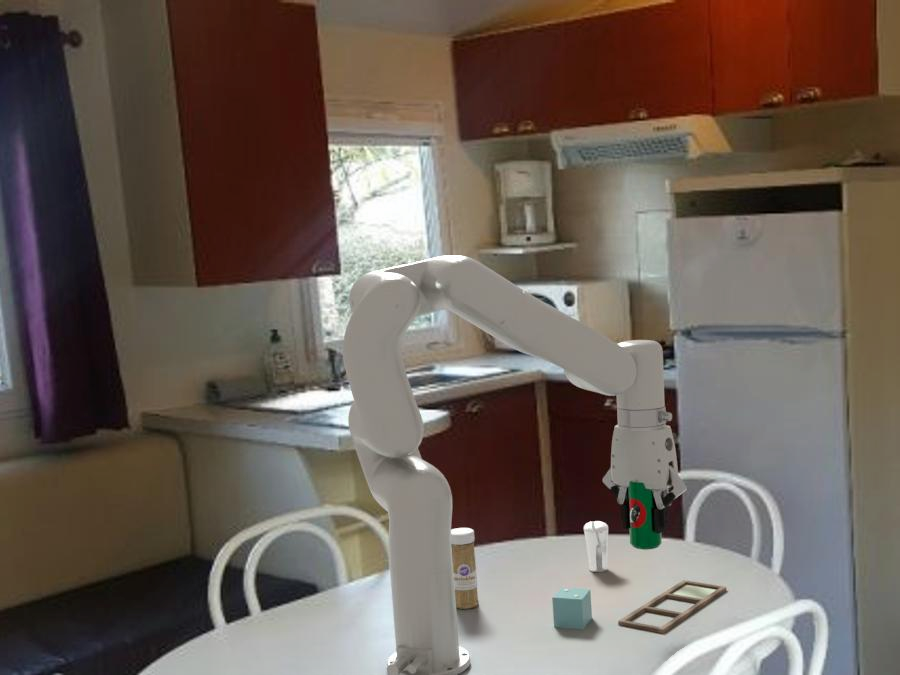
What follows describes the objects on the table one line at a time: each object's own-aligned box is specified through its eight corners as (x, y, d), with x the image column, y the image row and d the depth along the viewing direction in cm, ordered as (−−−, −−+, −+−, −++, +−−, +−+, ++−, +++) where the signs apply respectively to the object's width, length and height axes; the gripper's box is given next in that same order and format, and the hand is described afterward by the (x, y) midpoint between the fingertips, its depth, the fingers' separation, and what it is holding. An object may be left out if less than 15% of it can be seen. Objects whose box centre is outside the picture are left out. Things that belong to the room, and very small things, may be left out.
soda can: (661, 550, 177) (658, 476, 176) (629, 550, 178) (626, 476, 177) (662, 541, 182) (659, 469, 181) (630, 541, 183) (627, 469, 182)
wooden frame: (663, 633, 176) (662, 629, 176) (618, 624, 181) (618, 621, 181) (726, 590, 193) (726, 587, 193) (683, 583, 198) (683, 580, 198)
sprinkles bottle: (457, 611, 193) (452, 535, 191) (450, 603, 197) (444, 529, 196) (482, 607, 194) (477, 531, 192) (474, 599, 198) (469, 525, 197)
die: (583, 629, 180) (581, 599, 180) (554, 627, 182) (552, 597, 182) (592, 618, 185) (590, 588, 184) (563, 616, 187) (561, 587, 186)
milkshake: (583, 574, 207) (580, 522, 206) (588, 565, 212) (585, 514, 211) (607, 575, 206) (604, 522, 205) (612, 566, 211) (609, 514, 210)
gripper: (700, 417, 176) (704, 530, 177) (607, 410, 186) (611, 517, 188) (678, 425, 170) (682, 542, 172) (583, 418, 181) (587, 528, 182)
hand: (645, 528), depth 180 cm, fingers closed on soda can, 5 cm apart
